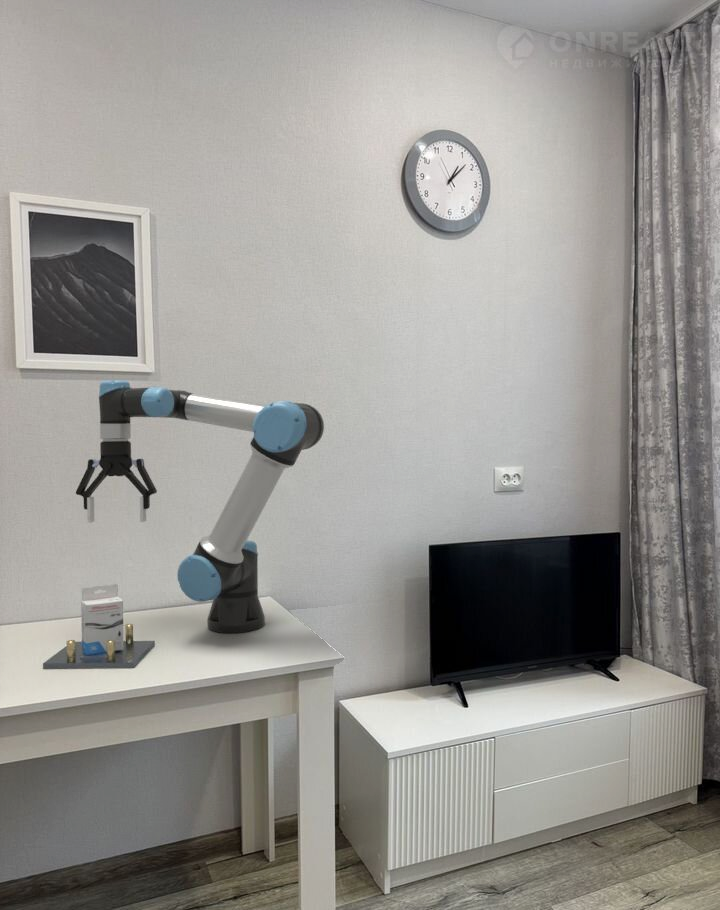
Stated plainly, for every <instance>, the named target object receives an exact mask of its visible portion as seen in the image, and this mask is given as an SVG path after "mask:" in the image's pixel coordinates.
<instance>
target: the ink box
mask: <svg viewBox="0 0 720 910" xmlns="http://www.w3.org/2000/svg"><path fill="white" fill-rule="evenodd" d="M118 587H119V585H118V584H117V583H112V584H101V585H94V586H85V587H84V586H83V587H82V589H81V602H80V603H81V607H80V609H81V642H82V651H83V652H84V653H85V654H86V655H92V654H99V653H105V652H107V651H106V641H107V640H115V651H117V650H123V649H124V648H123V641H124V600H123V599H122V598H121V597H120V596H118V593H119V592H118V590H119V589H118ZM99 590H101V591H105V592H98V591H99ZM95 592H97V593H95Z"/></svg>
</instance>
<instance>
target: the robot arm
mask: <svg viewBox="0 0 720 910" xmlns="http://www.w3.org/2000/svg"><path fill="white" fill-rule="evenodd" d="M98 403H99V404H98V405H99V416H100V421H99V423H100V424H99V438H100V439H101V440H102V441H100V444H99V445H100V446H99V447H100V449H99V452H100V459H94V458H92V459H88V460H87V467H86V470H85V472H84V474H83V477H82V478H81V481H80V482H79V484H78V486H77V489H76V490H75V494H76V495H77V496H81V497H82V498H83V510H86V511H87V512H86V513H87V514H86V515H87V516H86V517H87V523H88V524H90V523H93V522H95V497H94V496H92V495H93V493H94V492H95V491H96V489H98V488H99V486H100V485H101V483H102V482H103V481H104V480H105V478H107V477H115V476H116V477H124V476H125V477H126V478H127V479H128V480H129V481H130V483H131V484H132V485H133V486H134V487H135V488H136V489H137V490H138V492H139V493H140V494H141V495H142V496H139V519H140V521H139V522H140V523H144V522H147V510H148V509H150V506H151V505H150V504H151V503H150V502H151V501H150V499H151V496H152V495H155V494H157V492H158V490H157V488H156V486H155V484H154V483H153V481H152V479H151V477H150V475H149V473H148V470H147V469H146V467H145V460H144V459H143V458H137V459H133V458H132V442H131V441H129V440H130V439H131V436H132V435H131V432H132V431H131V418H161V419H163V418H168V419H177V420H178V419H179V420H184V421H190V422H191V421H192V422H195V423H200V424H201V423H203V424H209V425H212V426H218V427H224V428H229V429H234V430H238V431H239V430H241V431H246V432H252V433H253V437H252V438H251V441H250V443H249V445H250V448H251V451H252V453H251V455H250V457H249V459H248V460H247V463H246V464H245V466H244V468H243V470H242V472H241V474H240V476H239V478H238V480H237V482H236V484H235V486H234V488H233V490H232V491H231V494H230V496H229V497H228V500H227V501H226V503H225V505H224V507H223V509H222V511H221V513H220V515H219V517H218V519H217V521H216V523H215V525H214V527H213V529H212V530H211V533H210V534H209V535H205V536H203V537H201V538H200V540H199V542H198V544H197V546H196V548H195V550H194V552H193V554H191V555H189V556H188V555H187V556H186V558H184V559H183V560H182V561H181V562H180V563H179V566H178V569H177V576H176V577H177V581H178V584H179V588H180V589H181V591H182V592H183V594H184V595H185V596H187V597H188V598H189V599H190V600H192V601H195V602H199V603H201V602H204V603H205V602H208V601H212V603H211V606H210V610H209V612H208V615H207V621H206V622H207V629H209V630H210V631H212V632H217V633H221V634H222V633H225V634H226V633H227V634H234V633H235V634H236V633H238V634H239V633H246V632H247V633H248V632H251V631H255V630H258V629H261V628H262V627H263V626H265V624H266V623H265V621H266V620H265V619H266V618H265V612H264V610H263V608H262V604H261V602H260V599H259V598H260V597H259V592H258V591H259V590H258V588H259V587H258V585H259V584H258V582H259V580H258V578H259V577H258V575H259V573H258V572H259V570H258V569H259V567H258V559H259V558H258V556H259V553H258V546H257V544H256V542H255V541H252V540H248V538H249V537H250V535H251V533H252V531H253V529H254V527H255V526H256V524H257V521H258V520H259V517H260V516H261V514H262V512H263V511H264V508H265V507H266V505H267V503H268V501H269V499H270V496H271V495H272V494H273V492H274V490H275V489H276V486H277V484H278V482H279V480H280V479H281V477H282V474H283V473H284V470H285V469H289V468H291V467H293V466H294V465H295V463H296V462H297V459H298V457H299V456H300V454H301V452H302V451H303V450H308V449H311V448H312V447H315V445H317V444H318V443H319V442H320V440H321V439H322V437H323V434H324V431H325V423H324V419H323V417H322V414H321V413H320V411H319V410H318V409H317V408H315V407H314V406H312V405H309V404H307V403H298V402H292V401H287V400H280V401H276V402H271V403H269V404H262V403H256V402H250V401H244V400H238V399H231V398H225V397H221V396H219V397H218V396H213V395H207V394H201V393H195V392H194V393H193V392H189V391H185V390H180V389H179V390H175V389H169V388H167V387H159V386H152V387H137V388H136V387H135V388H133V387H131V385H130V382H129V381H126V380H103V381H101V382H100V384H99V395H98ZM133 465H134V467H135V468H136V469H137V471H138V473H139V475H140V477H141V479H142V480H143V483H144V484H145V485H144V484H143V483H142V482H141V481H140V480H139V479H138V477H137V476H136V475H135V473H134V472H133V471H132V470H131V468H132V466H133ZM98 466H99V467H100V468H101V471H100V472H99V473H98V475H97V476H96V478H95V479H94V480H93V481H92V482H91V483H90V481H91V479H92V477H93V474H94V473H95V470H96V468H98ZM89 483H90V485H89ZM88 485H89V486H88Z"/></svg>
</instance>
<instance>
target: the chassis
mask: <svg viewBox="0 0 720 910" xmlns="http://www.w3.org/2000/svg"><path fill="white" fill-rule="evenodd" d="M124 626H125V627H124V633H125V636H124V637H125V640H123V648H124V649H123V650H117V651H115V640H107V641H106V651H107V652H105V653H99V654H92V655H86V654H85V653H84V652H83V651H82V641H76V640H75V639H71V640H67V641H66V646H64V647H63V648H61V649H60V650H59V651H58V652H56V653H55V654H53V655H52V656H51V657H50V658H48V659H47V660H45V661H44V662H43V663H42V669H43V670H49V669H50V670H52V669H53V670H55V669H58V670H61V669H65V670H67V669H135V668H136V666H137V665H138V664H139V663H140V662H141V661H142V660H143V659H144V658H145V657H146V656H147V654H149V652H150V651H151V650H152V649H153V648H154V647H155V645H156V644H155V643H156V642H155V640H134V624H133V623H127V624H125V625H124Z"/></svg>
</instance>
